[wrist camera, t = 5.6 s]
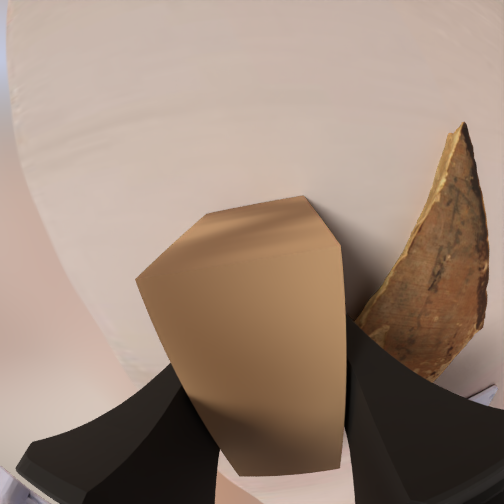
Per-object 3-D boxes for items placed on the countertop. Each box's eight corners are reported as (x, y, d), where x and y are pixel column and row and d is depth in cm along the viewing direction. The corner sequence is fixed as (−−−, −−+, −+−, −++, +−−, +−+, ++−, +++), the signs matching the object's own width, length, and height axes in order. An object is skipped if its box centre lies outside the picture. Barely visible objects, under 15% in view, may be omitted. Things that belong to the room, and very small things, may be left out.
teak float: (303, 195, 9) (340, 246, 4) (324, 367, 12) (339, 468, 7) (206, 214, 10) (135, 279, 4) (251, 377, 12) (239, 476, 7)
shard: (444, 122, 8) (469, 119, 6) (524, 212, 9) (544, 221, 7) (326, 335, 12) (332, 361, 10) (427, 370, 12) (438, 391, 11)
